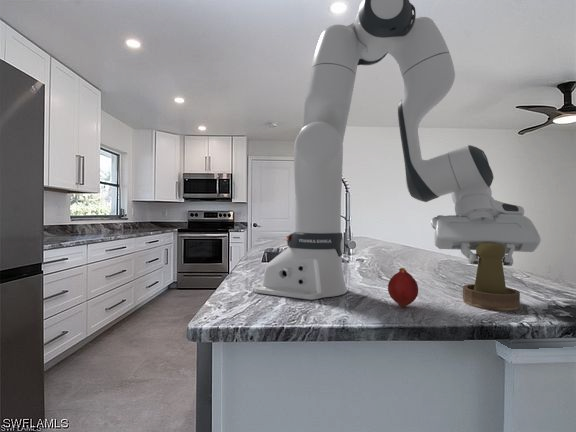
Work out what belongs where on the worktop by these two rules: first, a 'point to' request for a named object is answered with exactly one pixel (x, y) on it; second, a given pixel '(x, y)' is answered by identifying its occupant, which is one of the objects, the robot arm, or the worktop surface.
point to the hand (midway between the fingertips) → (491, 263)
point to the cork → (490, 269)
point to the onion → (403, 288)
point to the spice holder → (492, 299)
